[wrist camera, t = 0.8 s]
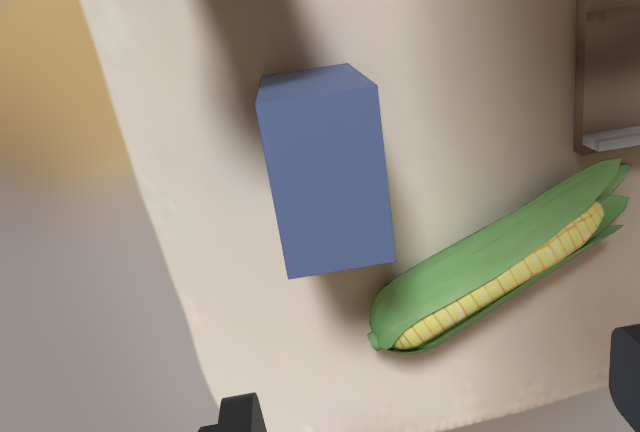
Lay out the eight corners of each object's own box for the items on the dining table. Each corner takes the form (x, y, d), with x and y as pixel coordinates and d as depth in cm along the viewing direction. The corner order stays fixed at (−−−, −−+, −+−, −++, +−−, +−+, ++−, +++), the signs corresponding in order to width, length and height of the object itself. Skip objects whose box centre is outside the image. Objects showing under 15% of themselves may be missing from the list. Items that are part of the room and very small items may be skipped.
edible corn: (346, 294, 37) (355, 332, 32) (611, 129, 34) (659, 147, 30) (385, 346, 38) (398, 388, 34) (640, 193, 36) (689, 218, 31)
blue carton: (285, 205, 34) (288, 279, 25) (261, 76, 31) (255, 105, 22) (366, 192, 34) (400, 260, 25) (350, 62, 31) (382, 84, 22)
